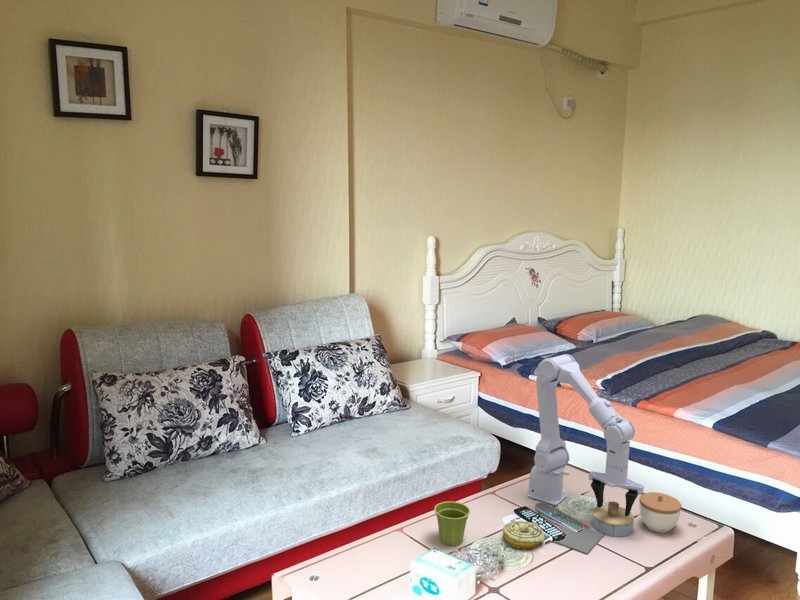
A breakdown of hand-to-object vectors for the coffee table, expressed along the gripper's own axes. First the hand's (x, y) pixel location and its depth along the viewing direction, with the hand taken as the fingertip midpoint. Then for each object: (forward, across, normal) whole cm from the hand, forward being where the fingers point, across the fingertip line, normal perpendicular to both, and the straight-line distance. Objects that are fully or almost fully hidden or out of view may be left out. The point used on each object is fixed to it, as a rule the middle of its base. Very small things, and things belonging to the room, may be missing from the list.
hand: (613, 510), depth 180 cm
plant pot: (+5, -31, -34) cm, 46 cm away
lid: (+2, 0, 0) cm, 2 cm away
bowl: (+5, 0, 0) cm, 5 cm away
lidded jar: (+5, +10, +8) cm, 14 cm away
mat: (+5, -6, -12) cm, 14 cm away
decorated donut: (+5, -16, -22) cm, 28 cm away
